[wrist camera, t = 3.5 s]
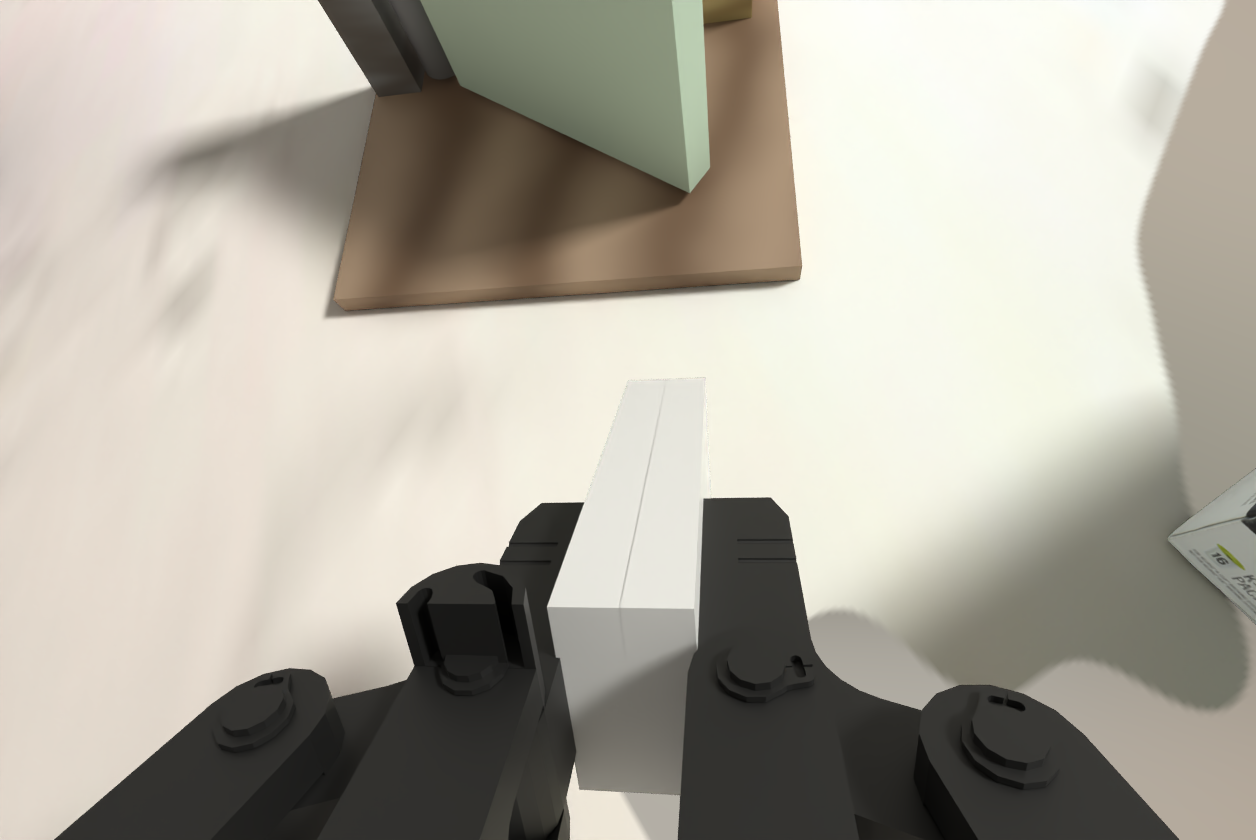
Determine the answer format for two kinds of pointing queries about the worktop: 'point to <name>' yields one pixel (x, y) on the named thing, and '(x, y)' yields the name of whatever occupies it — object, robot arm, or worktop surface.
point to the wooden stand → (560, 183)
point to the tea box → (1225, 543)
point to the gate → (582, 71)
